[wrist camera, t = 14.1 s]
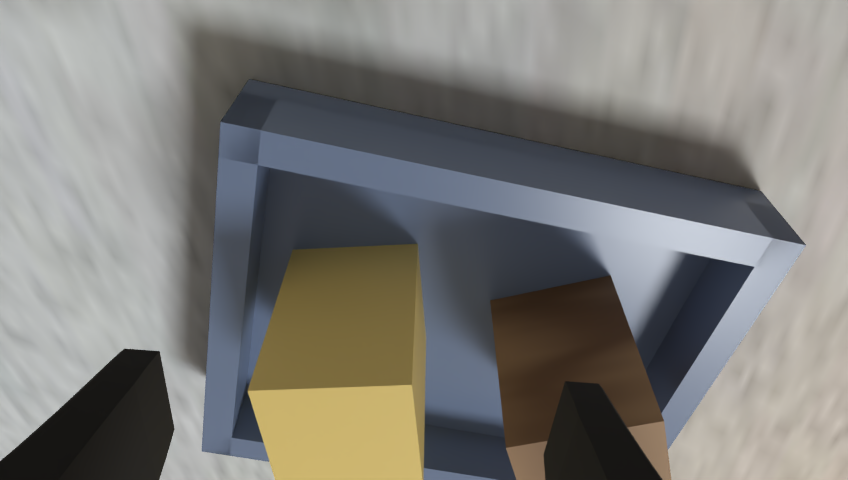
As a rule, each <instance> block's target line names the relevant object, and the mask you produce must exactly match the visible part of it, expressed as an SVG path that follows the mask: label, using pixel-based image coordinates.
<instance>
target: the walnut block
mask: <svg viewBox="0 0 848 480" xmlns="http://www.w3.org/2000/svg"><path fill="white" fill-rule="evenodd" d="M490 304H491V314H492V323H493V332H494V342H495V351H496V360H497V370H498V379H499V388H500V398H501V407H502V416H503V426H504V435H505V444H506V450H507V453H508V456H509V459H510V462H511V465H512V468H513V471H514V474H515V477H516V480H545V468H544V451H545V448H546V444H547V441H548V438H549V434H550V431H551V427H552V424H553V421H554V417H555V414H556V410H557V407H558V403H559V400H560V397H561V393H562V390H563V386H564V383H565V381H570V382H584V383H597V384H599V385H600V386H601V387H602V388H603V390H604V391H605V393H606V394H607V396H608V398H609V399H610V401H611V402H612V404H613V406H614V407H615V409H616V410H617V412H618V414H619V415H620V417H621V418H622V420H623V421H624V423H625V425H626V426H627V428H628V429H629V431H630V432H631V434H632V435H633V437H634V438H635V440H636V441H637V443H638V444H639V446H640V447H641V449H642V450H643V452H644V453H645V455H646V456H647V458H648V459H649V461H650V462H651V464H652V465H653V467H654V468H655V469H656V471H657V472H658V474H659V475H660V476H661V478H662V479H663V480H671V474H670V465H669V457H668V449H667V440H666V432H665V424H664V419H663V417H662V414H661V411H660V408H659V406H658V403H657V400H656V397H655V395H654V392H653V389H652V387H651V384H650V381H649V378H648V376H647V373H646V370H645V367H644V365H643V362H642V359H641V357H640V354H639V351H638V348H637V346H636V343H635V340H634V337H633V335H632V332H631V329H630V327H629V324H628V321H627V318H626V316H625V313H624V310H623V307H622V305H621V302H620V299H619V297H618V294H617V291H616V288H615V286H614V283H613V280H612V277H611V275H610V276H605V277H600V278H595V279H591V280H586V281H581V282H576V283H571V284H567V285H562V286H557V287H552V288H547V289H543V290H538V291H533V292H528V293H523V294H519V295H514V296H509V297H504V298H499V299H495V300H490Z"/></svg>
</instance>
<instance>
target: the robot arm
mask: <svg viewBox="0 0 848 480" xmlns="http://www.w3.org/2000/svg"><path fill="white" fill-rule="evenodd" d="M173 432H174V424H173V419H172V414H171V409H170V404H169V398H168V393H167V388H166V383H165V377H164V372H163V367H162V362H161V356H160V351H148V350H134V349H124V350H122V351H121V352H120V353H119V354H118V355H117V356H116V357H114V358H113V359H112V360H111V361H110V362H109V363H108V364H107V365H106V366H105V367H104V368H103V369H102V370H101V371H100V372H98V373H97V374H96V375H95V376H94V377H93V378H92V379H91V380H90V381H89V382H88V383H87V384H86V385H85V386H84V387H83V388H82V389H80V390H79V391H78V392H77V393H76V394H75V395H74V396H73V397H72V398H71V399H70V400H69V401H68V402H67V403H65V404H64V405H63V406H62V407H61V408H60V409H59V410H58V411H57V412H56V413H55V414H53V415H52V416H51V417H50V418H49V419H48V420H47V421H46V422H45V423H43V424H42V425H41V426H40V427H39V428H38V429H37V430H36V431H34V432H33V433H32V434H31V435H30V436H29V437H28V438H27V439H26V440H24V441H23V442H22V443H21V444H20V445H19V446H18V447H16V448H15V449H14V450H13V451H12V452H11V453H9V454H8V455H7V456H6V457H5V458H3V459H2V460H1V461H0V480H159V478H160V475H161V472H162V469H163V466H164V463H165V460H166V456H167V453H168V449H169V446H170V443H171V439H172V436H173ZM544 468H545V480H663V479H662V478H661V476H660V475H659V474H658V472H657V471H656V469H655V468H654V467H653V465H652V464H651V462H650V461H649V459H648V458H647V456H646V455H645V453H644V452H643V450H642V449H641V447H640V446H639V444H638V443H637V441H636V440H635V438H634V437H633V435H632V434H631V432H630V431H629V429H628V428H627V426H626V425H625V423H624V421H623V420H622V418H621V417H620V415H619V414H618V412H617V410H616V409H615V407H614V406H613V404H612V402H611V401H610V399H609V398H608V396H607V394H606V393H605V391H604V390H603V388H602V387H601V386H600V385H599V384H597V383H584V382H570V381H565V383H564V386H563V390H562V393H561V397H560V400H559V403H558V407H557V410H556V414H555V417H554V421H553V424H552V427H551V431H550V434H549V438H548V441H547V444H546V448H545V451H544Z"/></svg>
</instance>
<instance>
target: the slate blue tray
mask: <svg viewBox="0 0 848 480" xmlns="http://www.w3.org/2000/svg"><path fill="white" fill-rule="evenodd" d="M402 244H418V252H419V263H420V274H421V285H422V297H423V308H424V319H425V330H426V375H425V428H424V480H516V477H515V474H514V471H513V468H512V465H511V462H510V459H509V456H508V453H507V450H506V444H505V435H504V426H503V416H502V407H501V398H500V388H499V379H498V370H497V360H496V351H495V342H494V332H493V323H492V314H491V304H490V300H495V299H499V298H504V297H509V296H514V295H519V294H523V293H528V292H533V291H538V290H543V289H547V288H552V287H557V286H562V285H567V284H571V283H576V282H581V281H586V280H591V279H595V278H600V277H605V276H610V275H611V277H612V280H613V283H614V286H615V288H616V291H617V294H618V297H619V299H620V302H621V305H622V307H623V310H624V313H625V316H626V318H627V321H628V324H629V327H630V329H631V332H632V335H633V337H634V340H635V343H636V346H637V348H638V351H639V354H640V357H641V359H642V362H643V365H644V367H645V370H646V373H647V376H648V378H649V381H650V384H651V387H652V389H653V392H654V395H655V397H656V400H657V403H658V406H659V408H660V411H661V414H662V417H663V419H664V424H665V432H666V440H667V449H669V448H670V446H671V445H672V443H673V442H674V440H675V439H676V437H677V436H678V434H679V433H680V431H681V430H682V428H683V427H684V425H685V424H686V422H687V421H688V419H689V418H690V416H691V415H692V413H693V412H694V410H695V409H696V408H697V406H698V405H699V403H700V402H701V400H702V399H703V397H704V396H705V394H706V393H707V391H708V390H709V388H710V387H711V385H712V384H713V382H714V381H715V379H716V378H717V376H718V375H719V373H720V372H721V371H722V369H723V368H724V366H725V365H726V363H727V362H728V360H729V359H730V357H731V356H732V354H733V353H734V351H735V350H736V348H737V347H738V345H739V344H740V342H741V341H742V339H743V338H744V336H745V335H746V334H747V332H748V331H749V329H750V328H751V326H752V325H753V323H754V322H755V320H756V319H757V317H758V316H759V314H760V313H761V311H762V310H763V308H764V307H765V305H766V304H767V302H768V301H769V299H770V298H771V297H772V295H773V294H774V292H775V291H776V289H777V288H778V286H779V285H780V283H781V282H782V280H783V279H784V277H785V276H786V274H787V273H788V271H789V270H790V268H791V267H792V265H793V264H794V262H795V261H796V260H797V258H798V257H799V255H800V254H801V252H802V251H803V249H804V248H805V246H806V245H805V243H804V242H803V241H802V240H801V239H800V237H799V236H798V235H797V234H796V232H795V231H794V230H793V229H792V228H791V226H790V225H789V224H788V223H787V222H786V220H785V219H784V218H783V217H782V216H781V214H780V213H779V212H778V211H777V210H776V208H775V207H774V206H773V205H772V204H771V202H770V201H769V200H768V199H767V198H766V196H765V195H764V194H763V193H762V191H758V190H753V189H749V188H744V187H740V186H735V185H731V184H726V183H721V182H717V181H712V180H708V179H703V178H699V177H694V176H689V175H685V174H680V173H676V172H671V171H667V170H662V169H657V168H653V167H648V166H644V165H639V164H635V163H630V162H625V161H621V160H616V159H612V158H607V157H603V156H598V155H594V154H589V153H584V152H580V151H575V150H571V149H566V148H562V147H557V146H552V145H548V144H543V143H539V142H534V141H530V140H525V139H520V138H516V137H511V136H507V135H502V134H498V133H493V132H488V131H484V130H479V129H475V128H470V127H466V126H461V125H457V124H452V123H447V122H443V121H438V120H434V119H429V118H425V117H420V116H415V115H411V114H406V113H402V112H397V111H393V110H388V109H383V108H379V107H374V106H370V105H365V104H361V103H356V102H351V101H347V100H342V99H338V98H333V97H329V96H324V95H320V94H315V93H310V92H306V91H301V90H297V89H292V88H288V87H283V86H278V85H274V84H269V83H265V82H260V81H256V80H251V79H249V80H248V82H247V83H246V85H245V86H244V88H243V89H242V91H241V92H240V93H239V95H238V96H237V98H236V99H235V101H234V102H233V104H232V105H231V107H230V108H229V110H228V111H227V113H226V114H225V116H224V117H223V119H222V120H221V122H220V139H219V157H218V175H217V192H216V210H215V227H214V245H213V263H212V280H211V298H210V315H209V333H208V351H207V368H206V386H205V403H204V421H203V438H202V451H203V452H210V453H216V454H223V455H229V456H236V457H242V458H249V459H255V460H262V461H268V462H270V461H269V458H268V455H267V452H266V448H265V445H264V442H263V439H262V436H261V432H260V429H259V426H258V423H257V420H256V416H255V413H254V410H253V407H252V404H251V400H250V397H249V394H248V388H249V385H250V382H251V379H252V375H253V372H254V369H255V366H256V363H257V360H258V357H259V354H260V350H261V347H262V344H263V341H264V338H265V335H266V332H267V328H268V325H269V322H270V319H271V316H272V313H273V310H274V307H275V303H276V300H277V297H278V294H279V291H280V288H281V285H282V281H283V278H284V275H285V272H286V269H287V266H288V263H289V260H290V256H291V253H292V250H297V249H318V248H339V247H360V246H381V245H402Z"/></svg>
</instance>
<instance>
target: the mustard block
mask: <svg viewBox="0 0 848 480" xmlns="http://www.w3.org/2000/svg"><path fill="white" fill-rule="evenodd" d="M425 375H426V330H425V319H424V308H423V297H422V285H421V274H420V263H419V252H418V244H402V245H381V246H360V247H339V248H318V249H297V250H292V253H291V256H290V260H289V263H288V266H287V269H286V272H285V275H284V278H283V281H282V285H281V288H280V291H279V294H278V297H277V300H276V303H275V307H274V310H273V313H272V316H271V319H270V322H269V325H268V328H267V332H266V335H265V338H264V341H263V344H262V347H261V350H260V354H259V357H258V360H257V363H256V366H255V369H254V372H253V375H252V379H251V382H250V385H249V388H248V394H249V397H250V400H251V404H252V407H253V410H254V413H255V416H256V420H257V423H258V426H259V429H260V432H261V436H262V439H263V442H264V445H265V448H266V452H267V455H268V458H269V461H270V464H271V468H272V471H273V474H274V477H275V480H424V428H425Z"/></svg>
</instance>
